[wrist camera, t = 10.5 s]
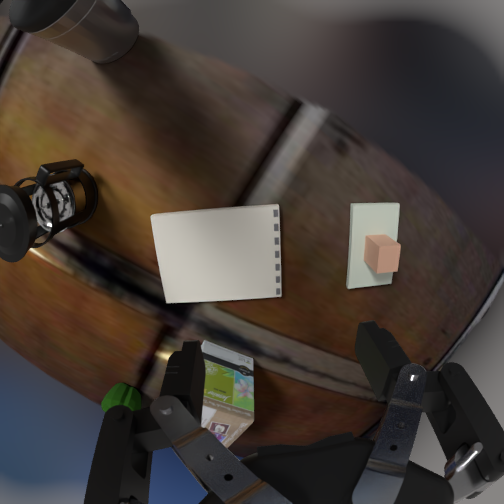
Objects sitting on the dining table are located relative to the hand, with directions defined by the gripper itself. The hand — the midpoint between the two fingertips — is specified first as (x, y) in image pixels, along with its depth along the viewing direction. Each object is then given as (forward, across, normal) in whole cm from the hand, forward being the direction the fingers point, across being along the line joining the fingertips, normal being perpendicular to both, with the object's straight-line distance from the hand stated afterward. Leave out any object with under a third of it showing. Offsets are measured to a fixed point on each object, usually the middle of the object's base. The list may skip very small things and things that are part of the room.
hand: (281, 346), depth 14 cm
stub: (+28, -18, +7) cm, 34 cm away
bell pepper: (+28, +30, +36) cm, 55 cm away
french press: (+30, +27, -6) cm, 40 cm away
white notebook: (+28, +5, +6) cm, 30 cm away
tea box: (+28, +10, +30) cm, 43 cm away
